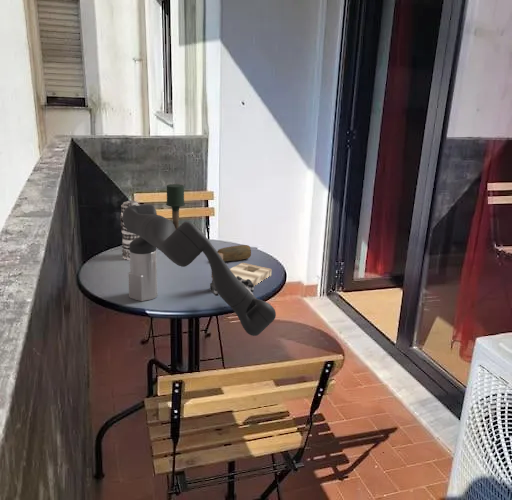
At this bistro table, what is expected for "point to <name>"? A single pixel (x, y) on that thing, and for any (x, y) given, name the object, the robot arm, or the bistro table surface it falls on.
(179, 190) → the potato masher grenade
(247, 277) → the board
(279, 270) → the bistro table surface
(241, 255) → the stone weight
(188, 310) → the bistro table surface
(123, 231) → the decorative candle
